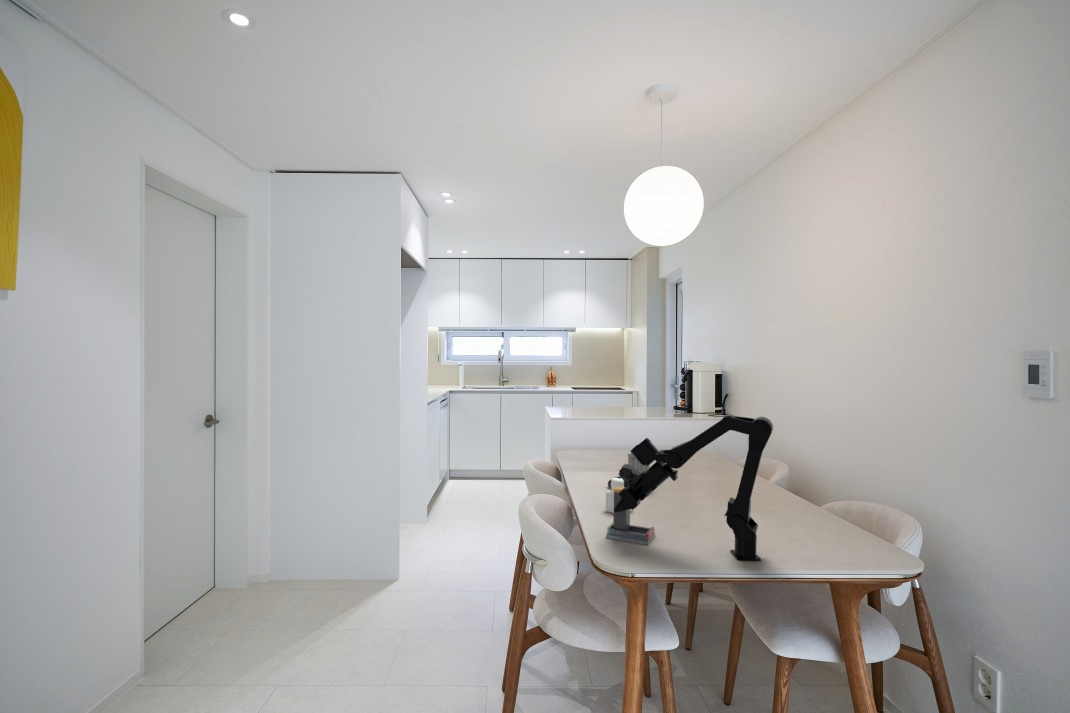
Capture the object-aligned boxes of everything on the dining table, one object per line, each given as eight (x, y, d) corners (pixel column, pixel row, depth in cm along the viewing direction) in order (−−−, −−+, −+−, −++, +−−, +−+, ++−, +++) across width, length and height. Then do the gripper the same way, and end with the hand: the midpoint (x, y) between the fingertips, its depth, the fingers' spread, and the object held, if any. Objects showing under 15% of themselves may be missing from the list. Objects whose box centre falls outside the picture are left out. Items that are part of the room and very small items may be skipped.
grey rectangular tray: (655, 535, 169) (655, 526, 169) (647, 545, 161) (647, 535, 161) (615, 529, 175) (615, 519, 175) (605, 537, 167) (605, 528, 167)
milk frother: (653, 494, 217) (653, 457, 217) (614, 495, 215) (615, 457, 215) (641, 485, 231) (642, 450, 231) (605, 486, 229) (605, 450, 229)
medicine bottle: (615, 507, 199) (616, 474, 199) (633, 511, 195) (633, 477, 194) (605, 511, 194) (605, 477, 193) (623, 515, 189) (623, 481, 189)
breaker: (629, 530, 170) (630, 488, 170) (625, 534, 167) (626, 491, 166) (617, 528, 172) (617, 486, 172) (613, 532, 168) (613, 489, 168)
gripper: (643, 451, 175) (609, 481, 181) (626, 462, 159) (589, 495, 164) (667, 479, 172) (632, 508, 177) (652, 493, 155) (614, 525, 161)
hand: (617, 508), depth 170 cm, fingers open, 6 cm apart
